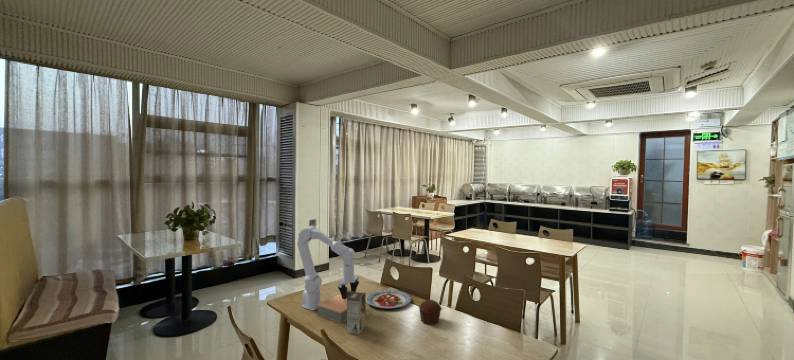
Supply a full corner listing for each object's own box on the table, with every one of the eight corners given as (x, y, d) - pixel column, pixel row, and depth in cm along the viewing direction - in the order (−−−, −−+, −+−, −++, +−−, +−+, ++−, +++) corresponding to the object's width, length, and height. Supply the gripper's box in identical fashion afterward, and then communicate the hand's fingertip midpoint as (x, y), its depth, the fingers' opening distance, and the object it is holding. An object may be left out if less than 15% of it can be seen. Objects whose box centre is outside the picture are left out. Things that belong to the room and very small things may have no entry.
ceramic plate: (356, 301, 191) (356, 296, 191) (390, 290, 209) (390, 285, 209) (385, 316, 172) (385, 310, 172) (420, 302, 190) (420, 297, 190)
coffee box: (353, 323, 163) (353, 291, 162) (365, 325, 162) (366, 292, 161) (346, 333, 154) (346, 298, 154) (360, 334, 153) (360, 300, 152)
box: (318, 315, 172) (318, 305, 172) (339, 304, 186) (339, 295, 185) (341, 323, 164) (341, 313, 163) (361, 311, 177) (361, 302, 177)
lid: (317, 305, 172) (317, 296, 172) (339, 295, 186) (339, 286, 186) (341, 313, 163) (341, 303, 163) (362, 302, 177) (362, 293, 177)
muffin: (417, 316, 172) (417, 297, 172) (438, 315, 173) (438, 296, 173) (421, 327, 160) (421, 306, 160) (443, 326, 161) (444, 305, 161)
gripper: (344, 276, 171) (345, 302, 171) (362, 269, 183) (362, 293, 184) (334, 274, 175) (334, 299, 175) (353, 267, 187) (353, 291, 187)
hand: (348, 296), depth 180 cm, fingers open, 7 cm apart
